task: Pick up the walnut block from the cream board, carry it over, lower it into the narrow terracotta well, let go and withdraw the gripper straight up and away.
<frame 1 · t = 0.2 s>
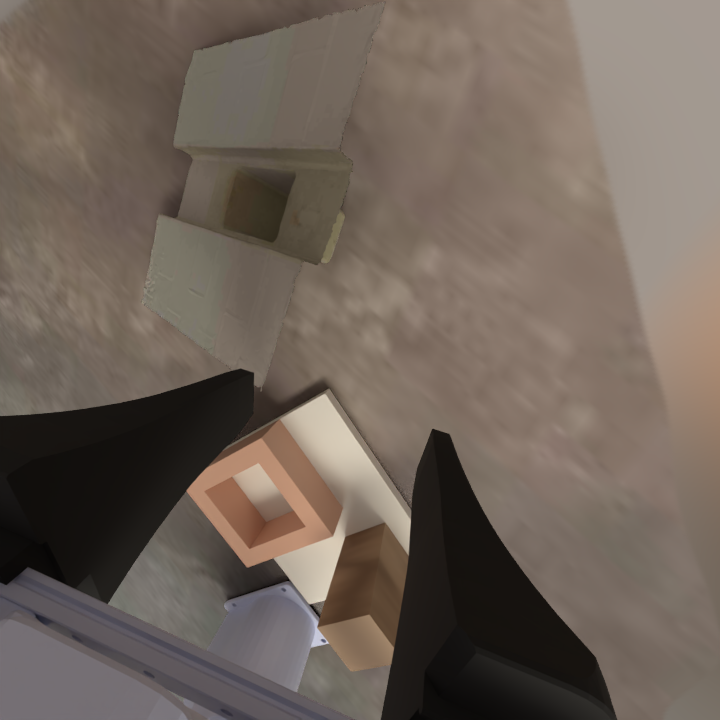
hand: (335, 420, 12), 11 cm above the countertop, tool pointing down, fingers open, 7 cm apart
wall: (264, 215, 21), on the countertop
walnut block: (377, 548, 26), point 1 cm above the countertop, touching cream board
terracotta well: (271, 484, 26), resting on cream board
cream board: (320, 504, 27), on the countertop
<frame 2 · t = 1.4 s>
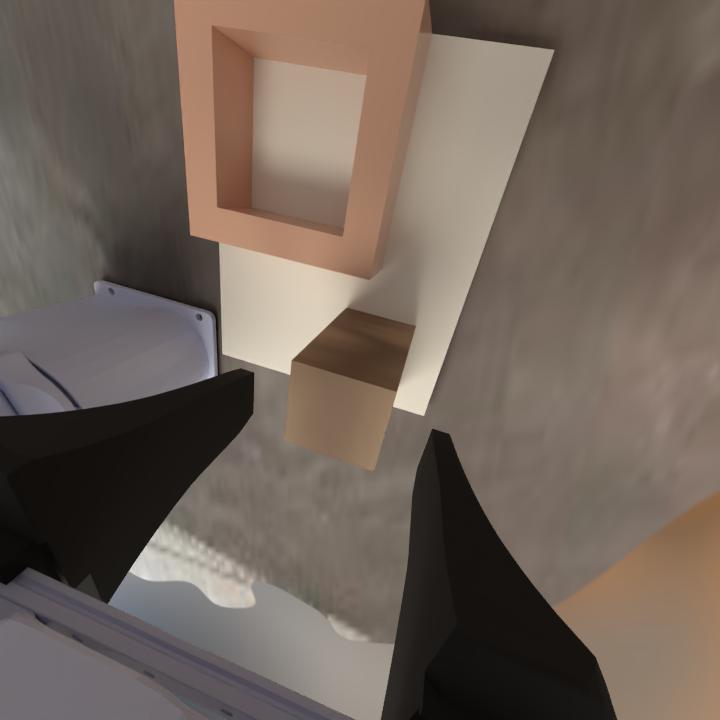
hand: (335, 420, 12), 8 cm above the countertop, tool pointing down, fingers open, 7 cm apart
walnut block: (373, 348, 18), point 1 cm above the countertop, touching cream board
terracotta well: (310, 151, 15), resting on cream board
cream board: (343, 246, 17), on the countertop
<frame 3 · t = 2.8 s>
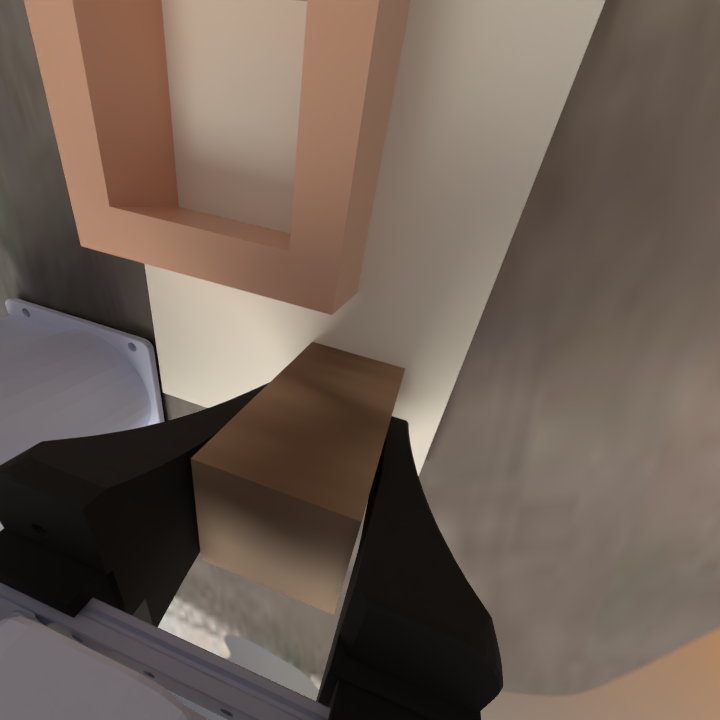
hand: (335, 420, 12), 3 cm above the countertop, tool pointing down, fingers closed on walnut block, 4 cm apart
walnut block: (349, 394, 14), point 1 cm above the countertop, touching cream board, gripper
terracotta well: (250, 125, 10), resting on cream board
cream board: (307, 259, 13), on the countertop
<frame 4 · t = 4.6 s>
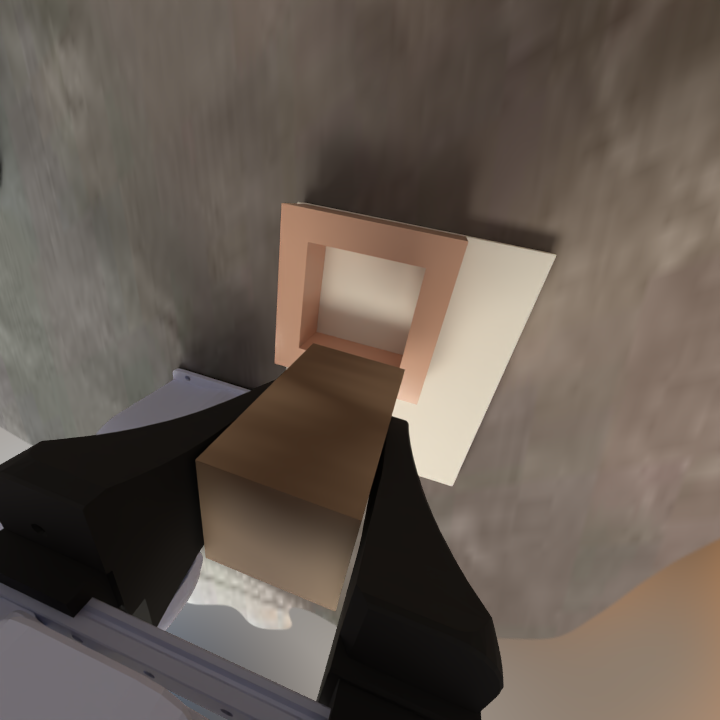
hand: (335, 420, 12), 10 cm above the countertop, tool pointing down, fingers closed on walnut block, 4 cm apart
walnut block: (350, 395, 14), point 8 cm above the countertop, touching gripper
terracotta well: (367, 299, 19), resting on cream board
cream board: (388, 358, 21), on the countertop
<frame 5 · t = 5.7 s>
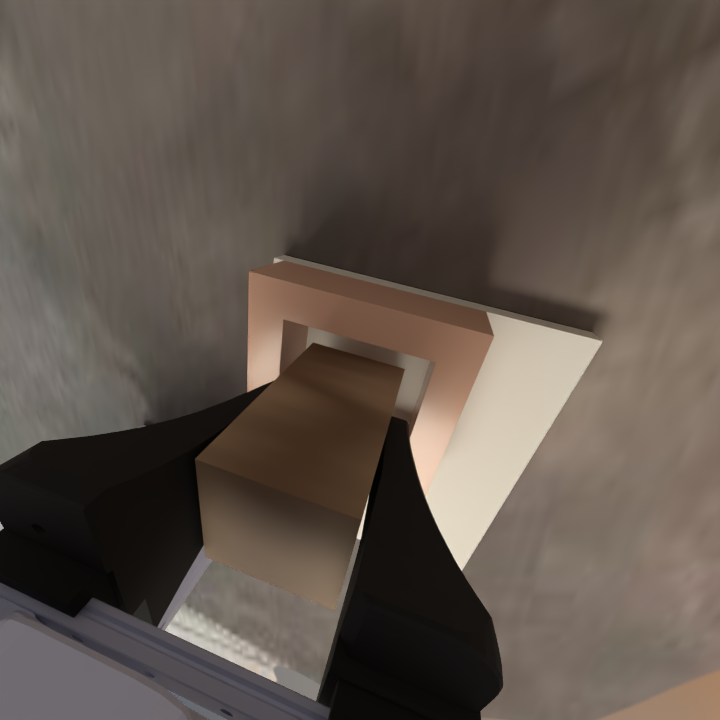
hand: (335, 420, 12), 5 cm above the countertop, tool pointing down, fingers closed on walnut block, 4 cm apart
walnut block: (350, 394, 14), point 3 cm above the countertop, touching gripper
terracotta well: (360, 373, 15), resting on cream board
cream board: (385, 433, 18), on the countertop
when the fingers open (4 cm above the countertop, at t = 6.6 s): walnut block drops 1 cm, resting on cream board.
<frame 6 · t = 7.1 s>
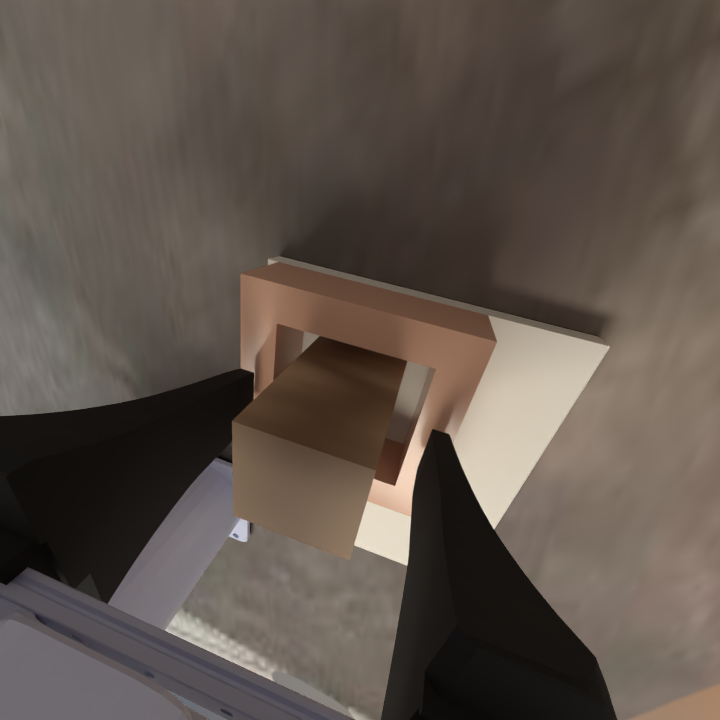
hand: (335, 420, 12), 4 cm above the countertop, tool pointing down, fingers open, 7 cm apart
walnut block: (358, 379, 15), point 1 cm above the countertop, touching cream board
terracotta well: (358, 378, 15), resting on cream board
cream board: (384, 439, 17), on the countertop
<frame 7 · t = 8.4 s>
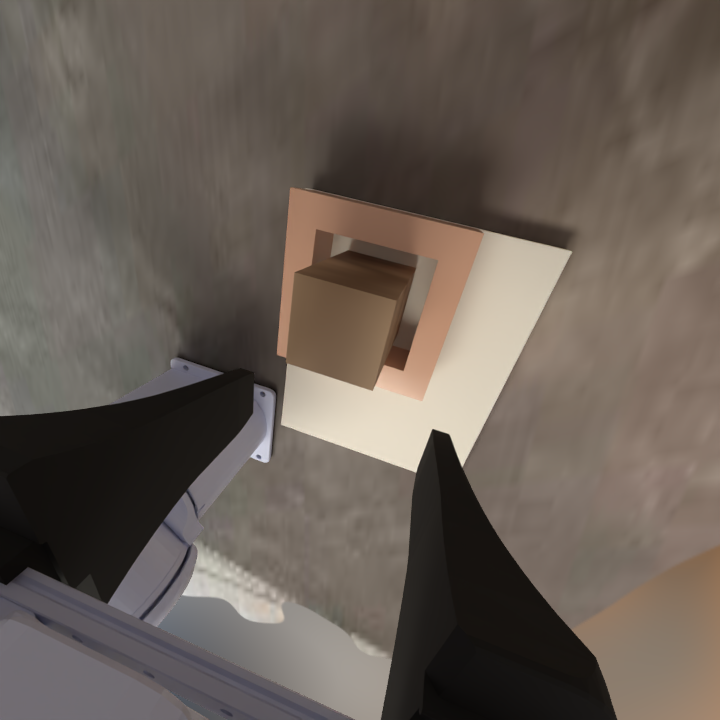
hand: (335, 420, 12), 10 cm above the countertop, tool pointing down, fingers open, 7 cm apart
walnut block: (374, 292, 18), point 1 cm above the countertop, touching cream board
terracotta well: (374, 291, 18), resting on cream board
cream board: (392, 353, 21), on the countertop
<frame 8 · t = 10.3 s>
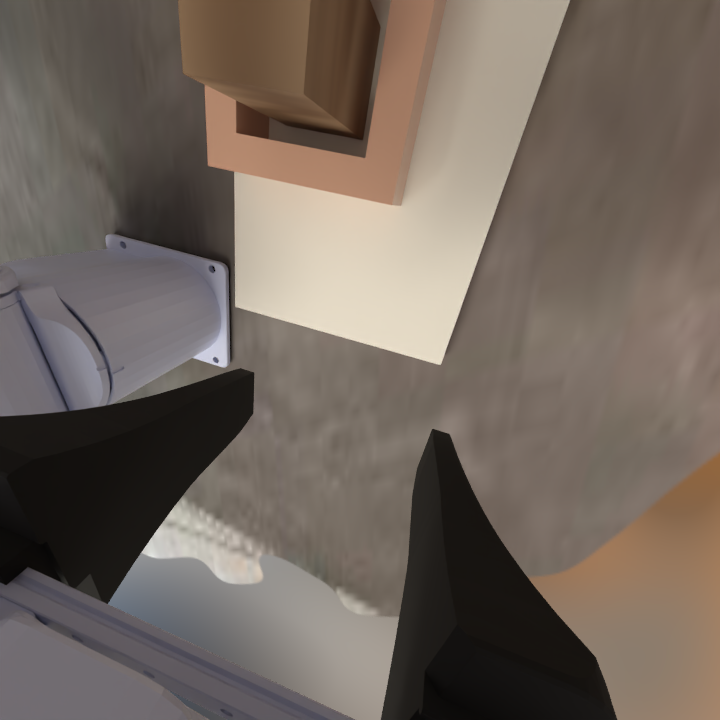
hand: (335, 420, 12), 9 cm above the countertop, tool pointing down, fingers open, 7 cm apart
walnut block: (329, 80, 14), point 1 cm above the countertop, touching cream board
terracotta well: (330, 78, 14), resting on cream board
cream board: (361, 186, 17), on the countertop
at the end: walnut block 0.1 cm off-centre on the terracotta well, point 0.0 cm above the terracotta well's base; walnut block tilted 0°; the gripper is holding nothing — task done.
